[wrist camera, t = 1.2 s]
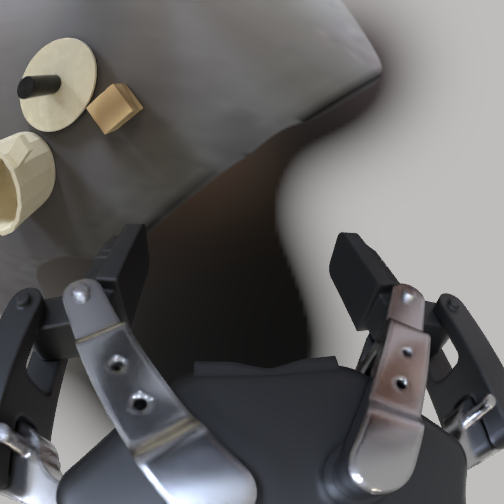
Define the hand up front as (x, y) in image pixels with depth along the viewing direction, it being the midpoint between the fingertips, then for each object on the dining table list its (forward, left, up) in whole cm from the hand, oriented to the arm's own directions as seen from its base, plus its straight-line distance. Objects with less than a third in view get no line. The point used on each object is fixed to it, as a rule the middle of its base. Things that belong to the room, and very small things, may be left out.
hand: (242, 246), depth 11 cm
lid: (-20, -13, -22) cm, 32 cm away
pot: (-15, -25, -22) cm, 37 cm away
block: (-11, -8, -22) cm, 26 cm away
